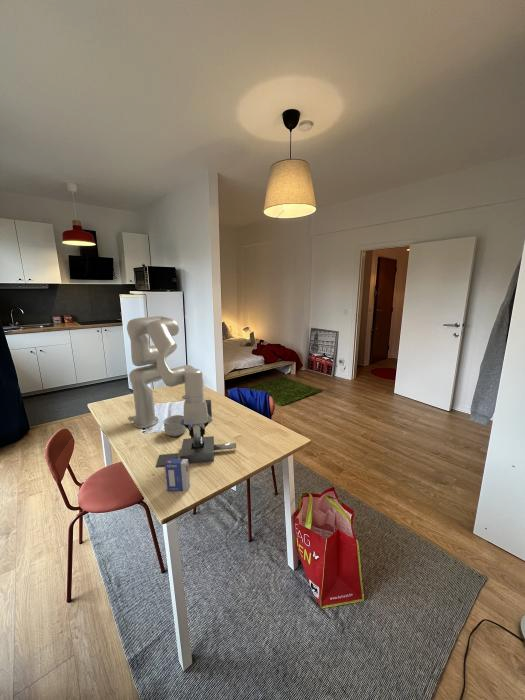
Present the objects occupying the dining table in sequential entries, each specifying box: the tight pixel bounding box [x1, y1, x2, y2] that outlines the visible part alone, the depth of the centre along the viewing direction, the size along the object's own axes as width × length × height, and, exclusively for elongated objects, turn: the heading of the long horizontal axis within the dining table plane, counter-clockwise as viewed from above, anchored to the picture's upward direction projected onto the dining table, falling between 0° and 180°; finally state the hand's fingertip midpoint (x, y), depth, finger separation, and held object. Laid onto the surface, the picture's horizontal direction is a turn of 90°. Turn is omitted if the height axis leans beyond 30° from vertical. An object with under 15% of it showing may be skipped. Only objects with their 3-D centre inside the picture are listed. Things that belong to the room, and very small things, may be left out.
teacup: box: [163, 414, 187, 437], centre depth 147 cm, size 14×11×8 cm
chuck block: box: [179, 435, 237, 465], centre depth 130 cm, size 24×14×4 cm, turn 99°
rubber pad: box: [155, 452, 179, 468], centre depth 125 cm, size 8×8×1 cm
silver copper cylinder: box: [191, 424, 203, 447], centre depth 127 cm, size 4×4×12 cm
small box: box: [205, 399, 213, 418], centre depth 162 cm, size 11×6×10 cm, turn 84°
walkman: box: [164, 458, 191, 492], centre depth 106 cm, size 8×3×12 cm, turn 89°
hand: (197, 436), depth 127 cm, fingers closed on silver copper cylinder, 4 cm apart
